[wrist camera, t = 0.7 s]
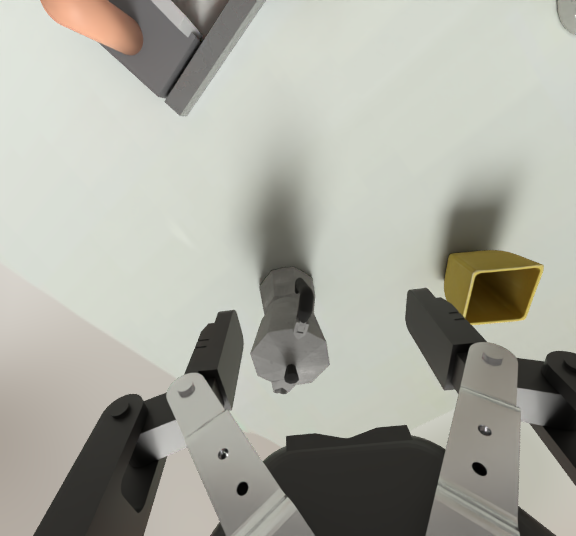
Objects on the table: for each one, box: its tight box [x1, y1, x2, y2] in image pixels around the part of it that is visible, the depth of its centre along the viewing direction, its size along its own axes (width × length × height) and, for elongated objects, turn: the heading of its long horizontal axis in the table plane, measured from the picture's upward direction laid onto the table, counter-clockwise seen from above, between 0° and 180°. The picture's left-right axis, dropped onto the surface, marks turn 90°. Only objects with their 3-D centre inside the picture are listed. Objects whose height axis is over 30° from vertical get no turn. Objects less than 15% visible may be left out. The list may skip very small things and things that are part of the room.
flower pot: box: [444, 250, 544, 325], centre depth 40 cm, size 9×9×9 cm
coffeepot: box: [250, 267, 330, 394], centre depth 37 cm, size 15×9×18 cm, turn 168°
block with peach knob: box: [40, 0, 202, 99], centre depth 24 cm, size 8×10×12 cm
